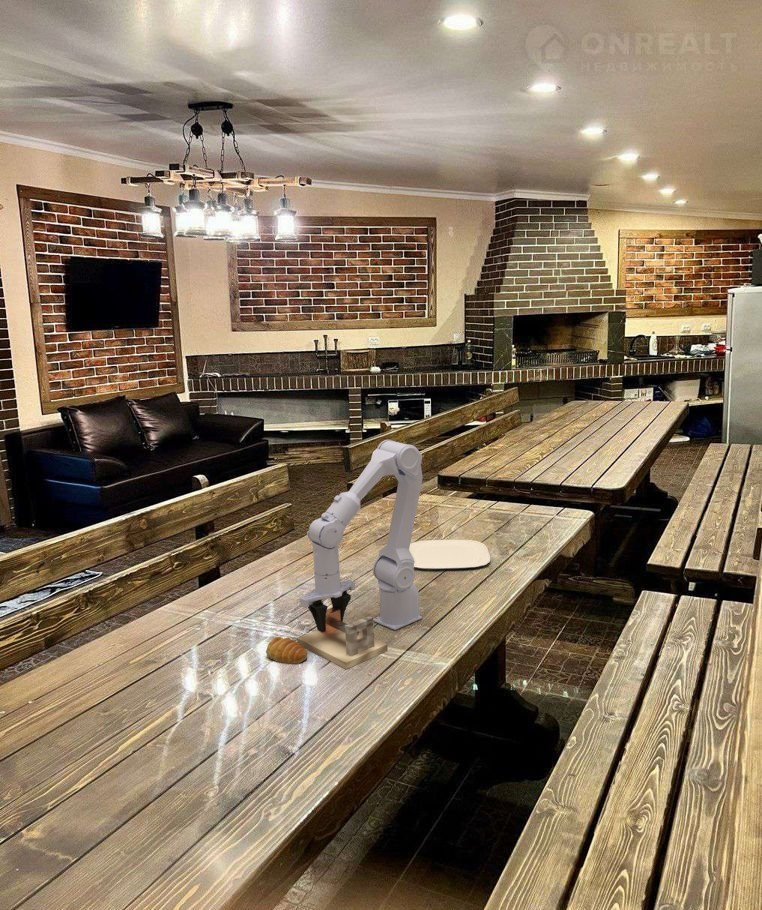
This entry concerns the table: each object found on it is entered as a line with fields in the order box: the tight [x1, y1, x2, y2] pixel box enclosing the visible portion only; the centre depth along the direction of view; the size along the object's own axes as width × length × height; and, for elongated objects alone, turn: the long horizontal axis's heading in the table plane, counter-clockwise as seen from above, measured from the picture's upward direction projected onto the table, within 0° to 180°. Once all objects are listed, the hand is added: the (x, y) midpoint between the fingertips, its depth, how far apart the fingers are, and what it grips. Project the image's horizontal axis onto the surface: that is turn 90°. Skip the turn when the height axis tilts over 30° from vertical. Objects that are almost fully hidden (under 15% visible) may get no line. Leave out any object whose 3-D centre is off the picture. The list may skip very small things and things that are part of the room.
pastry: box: [265, 636, 308, 665], centre depth 169 cm, size 9×7×4 cm
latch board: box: [296, 615, 388, 670], centre depth 172 cm, size 12×18×8 cm
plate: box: [409, 539, 491, 570], centre depth 230 cm, size 25×25×2 cm
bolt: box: [320, 606, 360, 636], centre depth 172 cm, size 4×10×5 cm, turn 43°
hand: (329, 627), depth 175 cm, fingers closed on bolt, 4 cm apart
